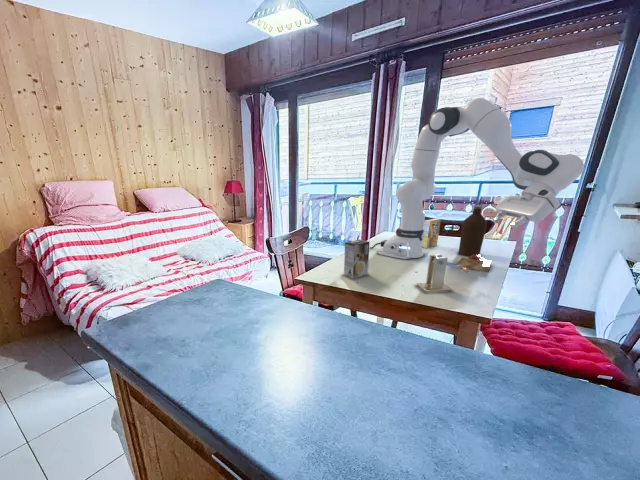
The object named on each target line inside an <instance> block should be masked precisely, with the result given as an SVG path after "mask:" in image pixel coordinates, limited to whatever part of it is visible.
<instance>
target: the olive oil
mask: <svg viewBox="0 0 640 480" xmlns="http://www.w3.org/2000/svg"><path fill="white" fill-rule="evenodd" d="M482 209H483V206H482V205H474V206H473V209H472V210H473V211H472V213H471V214H470V215H469V216H467V217H465V219H464V220H463V222H462V224H461V232H460V240H459V247H458V255H460V256H463V257H470V256H472V255H473V254H477V255H481V251H482V245H483V243H484V238H485V234H486V231H487V229H488V223H487V219H486V218H485V217H484V216H483V215H482Z"/></svg>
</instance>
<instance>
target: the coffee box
mask: <svg viewBox="0 0 640 480" xmlns="http://www.w3.org/2000/svg"><path fill="white" fill-rule="evenodd" d="M370 244H371V243H370V241H368V240H363V239H356V240H350V241H346V242H344V260H343V261H344V262H343V264H344V265H343V275H345V276H348V277H350V278H359V277H362V276H366V275H369V273H368V272H369V257H370V256H369V255H370Z"/></svg>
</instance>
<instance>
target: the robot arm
mask: <svg viewBox="0 0 640 480" xmlns="http://www.w3.org/2000/svg"><path fill="white" fill-rule="evenodd" d="M427 123H428V124H426V125H424V126H423V127H422V128H421V130H420V132H419V134H418V137H417V140H416V143H415V146H414V151H413V155H412V159H411V163H410V168H411V173H412V176H411V177H412V178H411V180H407V181H405V182H403V183H402V184H400V185H399V186H398V188H397V190H396V194H395V195H396V199H397V200H398V202H399V204H400V211H401V218H400V226H398V228H397V229H395V235H393V236H392V237H390V238H388V239H384V240H382V241H380V242H377V243H375V244H374V245H372V247H371V246H369V250H372V249H374V248H375V247H376V246H378V245H380V247H381V248H380V249H379V250H378V252H377V253H378V255H381V256H386V257H391V258H397V259H402V260H408V259H418V258H422V257H424V252H423V247H422V240H423V237H424V229H423V228H424V221H425V220H426V213H425V211H424V207H423V202H424V201H426V200H427V199H429V198H431V197H432V196H433V195H434V194H435V192H436V190H437V186H436V185H437V184H436V183H435V180H436V179H435V178H436V177H435V176H436V167H437V163H438V159H439V156H440V152H441V150H442V149H441V148H442V144H443V142H444V140H445V139H446V138H447V137H450V138H451V137H455V136H459V135H462V134H464V133H467V132H468V131H471V132H472V133H473V134H474V135H475V137H476V138H478V140H480V141H481V142H482V143H483V145H485V146H486V147H487V148H488V149H489V150H490V151H491V152H492V153H493V155H494V156H495V157H496V158H497V159H498V161H499V162H500V163H501V164H502V165H503V167H504V168H505V169H506V170H507V171H508V173H510V175H511V179H512V183H513V185H514V187H515V188H517V189H519V190H521V192H520V193H519V192H518V193H515V194H511V195H509V196H507V197H506V198H504V199H503V200H501V201H500V202H499V203H497V204H496V206H495V208H494V209H495V211H496V212H497V213H496V215H495V217H494V218H493V219H492V222H493V223H495V224H499V223H500V222H501V221H502V220H501V219H502V217H503V218H504V217H505V216H508V217H511V218H516V219H517V220H515V221H512V222H511V223H510V224H509V227H510V228H512V229H517V228H518V227H519V226H521V225H523V224H526V223H527V222H532V223H539V222H541V221H543V220H544V219H545V218H547V217H548V215H550V214H551V213H553V211H554V209H555V210H556V209H558V208H559V207H560V206H561V203H560V201H559V200H558V198H557V196H558V195H559V193H560V192H561V191H563V190H565V189H567V188H568V187H569V186H571V185H572V184H573V183H574V182H575V181H576V180H577V179H578V178H579V177H580V176H581V175H582V174H583V172H584V170H585V164H584V161H583V160H582V159H581V158H580V157H579V156H578V155H576V154H573V153H569V154H568V153H567V154H558V153H554V152H553V153H552V152H549V151H548V150H545V149H532V150H530V151H527V152H525V153H524V154H523V155H522V153H521V152H520V151H519V150H518V149H517V148H516V146H515V145H514V142H513V136H512V122H511V120H510V119H509V117H508V115H507V114H506V112H505V111H503V110H502V109H501V108H500V107H498V106H497V105H496V104H494V103H493V102H491V101H490V100H488V99H486V98H484V97H476V98H474V99H472V100H470V101H469V102H467V104H466V105H464V107H462V106H444V107H440V108H438V109H436V110H435V111H433V112H432V114H431V115H430V117H429V119H428V122H427Z"/></svg>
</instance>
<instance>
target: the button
mask: <svg viewBox="0 0 640 480" xmlns="http://www.w3.org/2000/svg"><path fill="white" fill-rule="evenodd" d="M481 257H482V255H481V254H479V255H477V254H473V255H472V256H471V259H476V260H479V259H480V258H481Z"/></svg>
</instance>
